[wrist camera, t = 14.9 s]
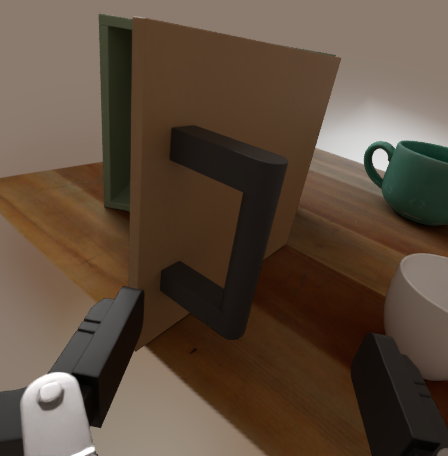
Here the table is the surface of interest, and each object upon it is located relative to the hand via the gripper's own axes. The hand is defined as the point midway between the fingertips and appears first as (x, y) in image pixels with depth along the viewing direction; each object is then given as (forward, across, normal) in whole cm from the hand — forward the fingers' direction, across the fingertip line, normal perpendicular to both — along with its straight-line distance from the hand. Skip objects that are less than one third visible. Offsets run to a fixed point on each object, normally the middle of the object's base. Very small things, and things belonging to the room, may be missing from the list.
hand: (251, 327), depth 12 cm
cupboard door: (+13, +2, -9) cm, 16 cm away
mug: (+40, +25, -10) cm, 48 cm away
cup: (+9, +15, -10) cm, 20 cm away
